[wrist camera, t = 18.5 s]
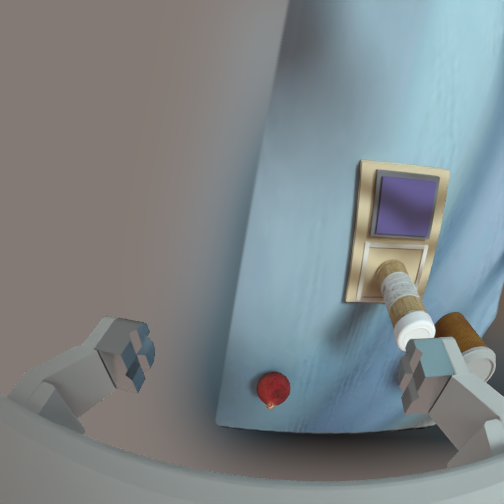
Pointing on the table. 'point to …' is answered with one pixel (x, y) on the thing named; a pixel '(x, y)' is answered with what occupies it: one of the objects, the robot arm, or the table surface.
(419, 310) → the sprinkles bottle
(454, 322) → the disposable coffee cup
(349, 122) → the table surface
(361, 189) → the stamp station
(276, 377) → the onion
